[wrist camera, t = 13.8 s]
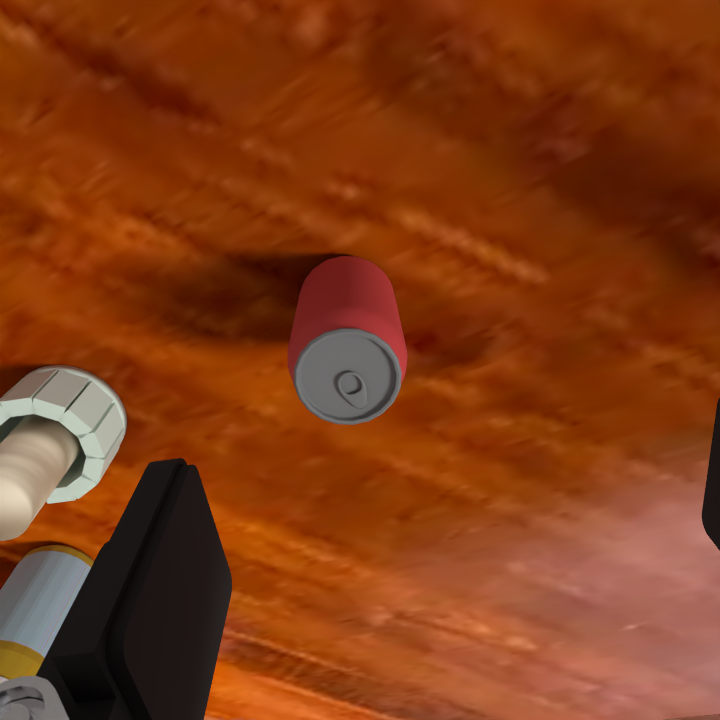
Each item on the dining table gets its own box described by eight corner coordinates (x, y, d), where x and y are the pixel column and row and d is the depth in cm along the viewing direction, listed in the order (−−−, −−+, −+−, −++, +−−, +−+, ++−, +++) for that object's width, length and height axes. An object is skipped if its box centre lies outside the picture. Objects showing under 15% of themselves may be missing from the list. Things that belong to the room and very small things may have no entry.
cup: (-7, 373, 43) (-48, 408, 39) (106, 357, 43) (77, 391, 38) (37, 467, 47) (4, 509, 42) (141, 453, 46) (119, 494, 42)
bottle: (56, 526, 49) (-53, 697, 36) (122, 573, 52) (43, 750, 38) (5, 568, 51) (-117, 745, 38) (70, 611, 54) (-22, 793, 40)
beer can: (324, 356, 43) (316, 450, 32) (283, 276, 40) (260, 350, 30) (408, 321, 42) (430, 407, 31) (372, 237, 39) (382, 299, 29)
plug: (23, 400, 43) (-63, 486, 34) (82, 391, 43) (12, 476, 34) (45, 450, 45) (-30, 544, 36) (102, 442, 45) (41, 535, 36)
